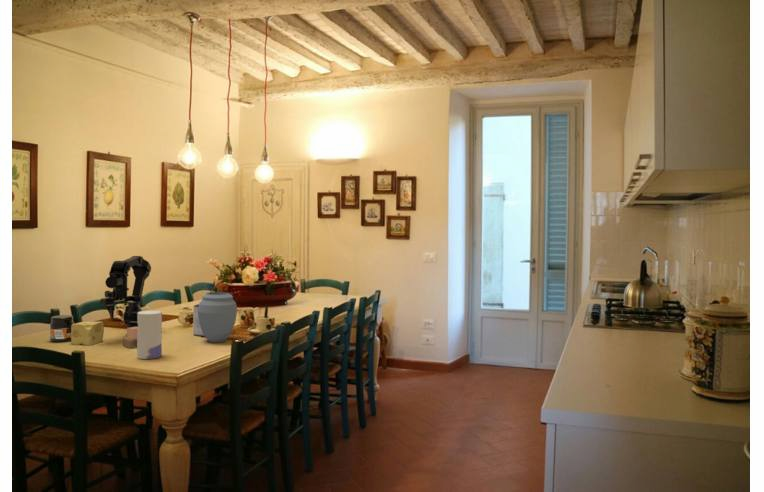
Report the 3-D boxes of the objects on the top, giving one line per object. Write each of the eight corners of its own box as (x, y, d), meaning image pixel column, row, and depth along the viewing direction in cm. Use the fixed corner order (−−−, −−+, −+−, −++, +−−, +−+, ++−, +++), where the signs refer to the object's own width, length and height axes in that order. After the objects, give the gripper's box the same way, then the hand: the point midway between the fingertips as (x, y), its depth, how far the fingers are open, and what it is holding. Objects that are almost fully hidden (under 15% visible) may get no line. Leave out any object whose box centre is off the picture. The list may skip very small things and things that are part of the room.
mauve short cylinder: (139, 344, 278) (139, 335, 278) (146, 347, 273) (146, 338, 273) (122, 346, 273) (122, 337, 273) (129, 349, 267) (129, 340, 267)
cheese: (89, 345, 272) (89, 325, 272) (69, 344, 274) (69, 323, 274) (104, 341, 282) (104, 321, 282) (85, 340, 284) (85, 320, 284)
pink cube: (136, 336, 276) (136, 326, 276) (142, 338, 273) (142, 327, 273) (126, 338, 272) (126, 327, 272) (132, 339, 269) (132, 329, 269)
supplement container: (57, 343, 275) (57, 319, 274) (45, 341, 280) (45, 316, 280) (78, 340, 284) (78, 316, 283) (67, 337, 289) (67, 314, 289)
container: (141, 354, 257) (141, 310, 256) (164, 354, 258) (164, 310, 257) (133, 359, 247) (134, 313, 246) (157, 359, 248) (157, 313, 247)
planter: (186, 335, 302) (186, 306, 301) (206, 330, 317) (206, 302, 316) (210, 338, 296) (211, 308, 295) (230, 332, 311) (230, 304, 310)
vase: (244, 339, 295) (245, 292, 294) (222, 346, 276) (222, 296, 275) (212, 336, 301) (213, 290, 300) (188, 342, 283) (189, 294, 282)
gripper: (129, 283, 294) (129, 313, 295) (93, 286, 279) (93, 317, 279) (141, 285, 288) (141, 315, 288) (106, 288, 272) (106, 320, 273)
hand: (120, 317), depth 282 cm, fingers open, 9 cm apart
